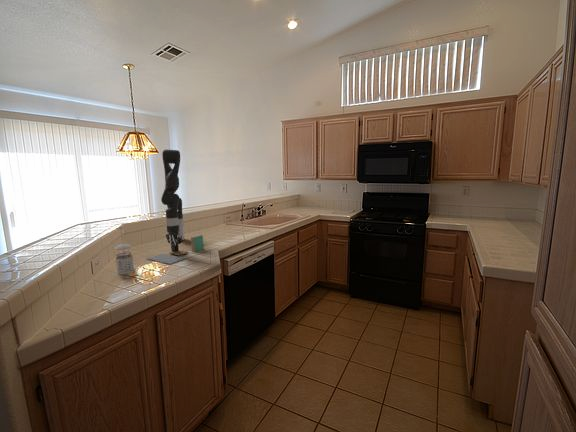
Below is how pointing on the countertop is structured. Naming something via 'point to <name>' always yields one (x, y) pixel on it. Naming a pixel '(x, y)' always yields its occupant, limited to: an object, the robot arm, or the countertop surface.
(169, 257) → the mat
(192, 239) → the tile
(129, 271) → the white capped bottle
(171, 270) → the countertop surface
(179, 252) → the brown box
